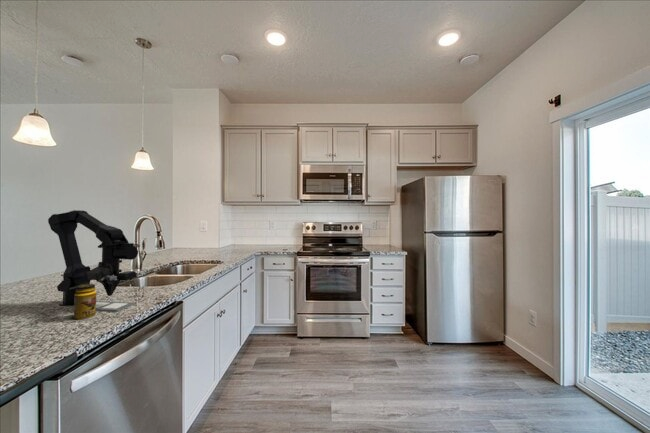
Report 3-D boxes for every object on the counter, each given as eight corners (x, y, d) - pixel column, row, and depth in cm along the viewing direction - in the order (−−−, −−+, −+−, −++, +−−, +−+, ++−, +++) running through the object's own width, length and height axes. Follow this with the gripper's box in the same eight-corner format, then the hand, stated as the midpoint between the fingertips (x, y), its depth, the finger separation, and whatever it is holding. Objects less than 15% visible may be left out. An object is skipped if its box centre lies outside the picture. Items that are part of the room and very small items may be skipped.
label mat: (74, 310, 102) (74, 308, 102) (95, 302, 111) (95, 300, 111) (117, 311, 102) (117, 309, 102) (135, 304, 111) (135, 302, 111)
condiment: (94, 318, 95) (95, 286, 95) (63, 323, 90) (63, 289, 90) (98, 312, 101) (99, 281, 101) (69, 316, 96) (69, 284, 96)
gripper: (69, 261, 100) (68, 301, 100) (115, 262, 99) (114, 302, 99) (96, 256, 111) (95, 292, 111) (137, 258, 110) (137, 294, 110)
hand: (109, 295), depth 107 cm, fingers closed
